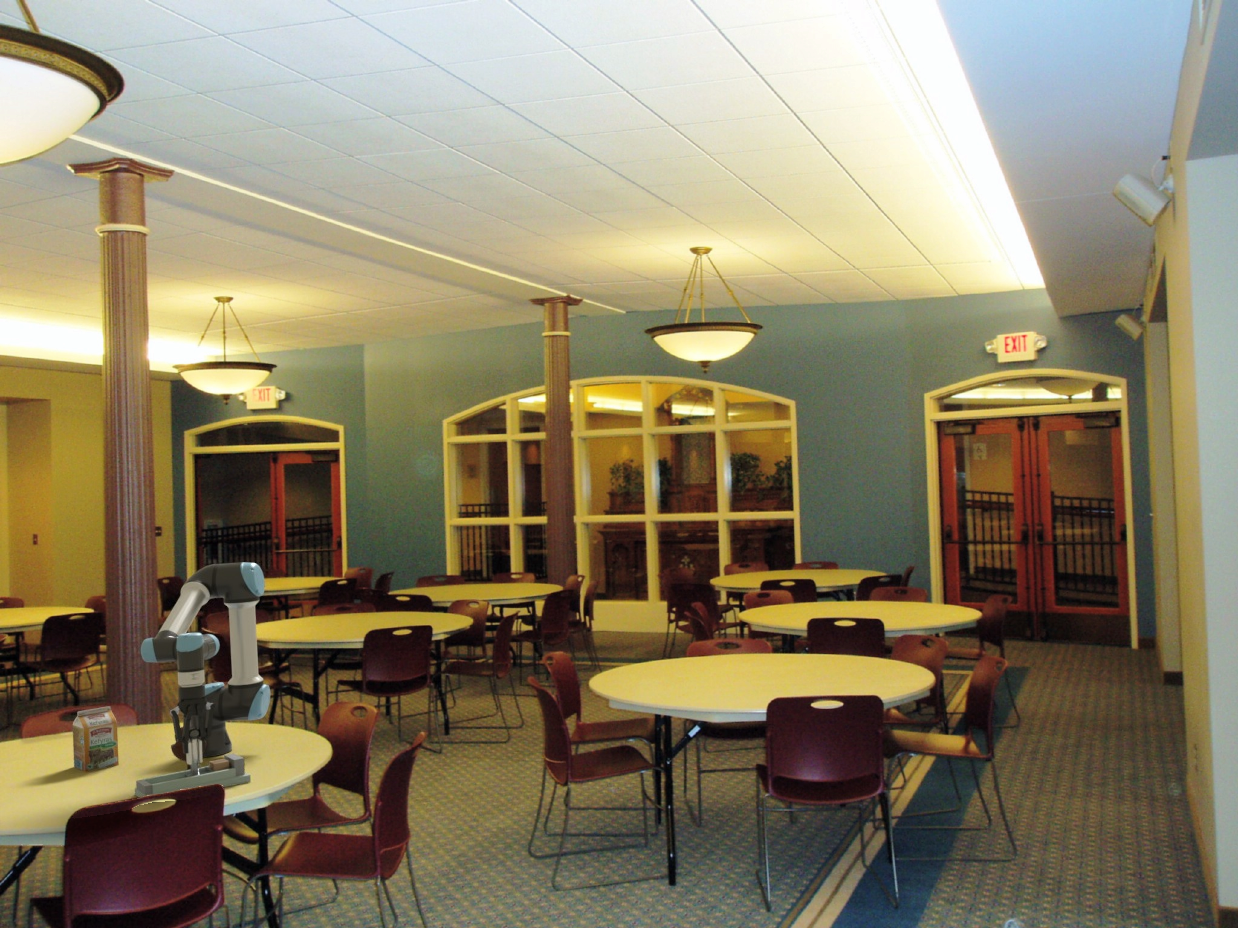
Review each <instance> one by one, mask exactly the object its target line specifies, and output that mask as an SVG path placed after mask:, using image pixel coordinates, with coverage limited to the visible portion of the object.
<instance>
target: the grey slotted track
mask: <svg viewBox="0 0 1238 928" xmlns="http://www.w3.org/2000/svg"><path fill="white" fill-rule="evenodd" d="M223 757H224V758H223V759H226V760H228V761H229V769H226V770H221V771H216V772H211V773H206V774H201V775H196V776H191V777H186V778H185V775H186V774H191V769H190V770H186V769H185V770H181V771H177V772H176V771H175V772H171V773H170V772H169V773H166V774H161V775H156V776H150V777H146V778H142V779H140V780H139V779H138V780H135V784H136V785H135V787H134V796H136V797H137V798H139V797H143V796H147V795H155V794H163V793H167V792H173V791H178V790H180V789H188V788H195V787H199V786H207V785H214V784H221V785H223V786H225V787H224V788H226V787H232V786H235V785H240V784H246V783H250V782H251V774H249V773H247V772H245V757H244V756H241V755H238V754H237V753H229V754H223ZM205 767H209V765H207V766H206V765H205V766H202V767H200V766H199V772H201V771H205Z"/></svg>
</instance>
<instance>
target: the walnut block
mask: <svg viewBox="0 0 1238 928" xmlns="http://www.w3.org/2000/svg"><path fill="white" fill-rule="evenodd" d="M208 766H209V767H210V768H211V769H213V770H215V771H221V770H226V769H229V761H228V760H226V759H224V758H220V759H216V760H210V761H208Z"/></svg>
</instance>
